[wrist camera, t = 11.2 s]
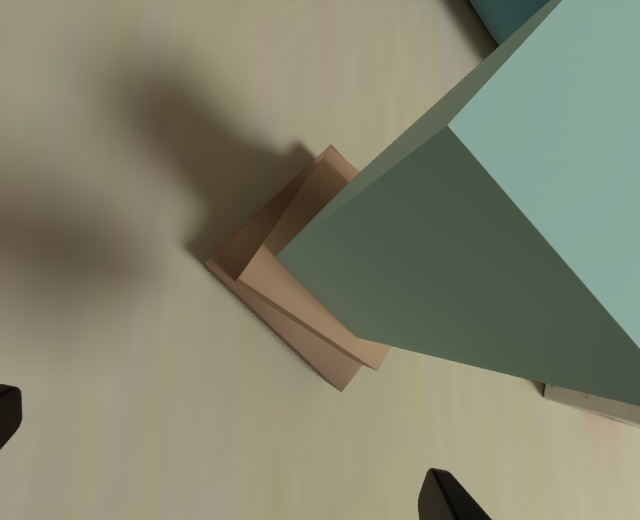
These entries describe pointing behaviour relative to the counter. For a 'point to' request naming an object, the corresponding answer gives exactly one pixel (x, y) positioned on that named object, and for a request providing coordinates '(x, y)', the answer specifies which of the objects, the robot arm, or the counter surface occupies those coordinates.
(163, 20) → the counter surface
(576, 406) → the ink box
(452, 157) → the teal block
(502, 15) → the casserole dish
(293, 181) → the base plinth
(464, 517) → the robot arm
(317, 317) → the top coaster
